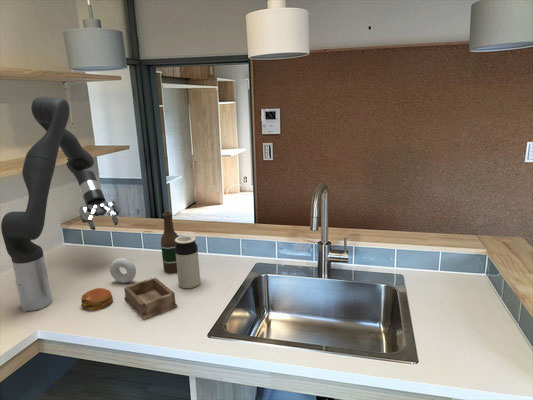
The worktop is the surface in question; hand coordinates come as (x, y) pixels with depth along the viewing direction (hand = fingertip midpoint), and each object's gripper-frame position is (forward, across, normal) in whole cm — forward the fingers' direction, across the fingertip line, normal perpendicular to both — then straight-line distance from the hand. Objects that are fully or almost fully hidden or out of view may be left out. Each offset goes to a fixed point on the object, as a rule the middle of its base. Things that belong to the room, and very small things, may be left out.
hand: (105, 226), depth 161 cm
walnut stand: (+39, +1, -13) cm, 41 cm away
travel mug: (+36, +18, -10) cm, 42 cm away
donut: (+24, 0, +3) cm, 24 cm away
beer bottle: (+25, +19, +2) cm, 32 cm away
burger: (+31, -13, -4) cm, 34 cm away
